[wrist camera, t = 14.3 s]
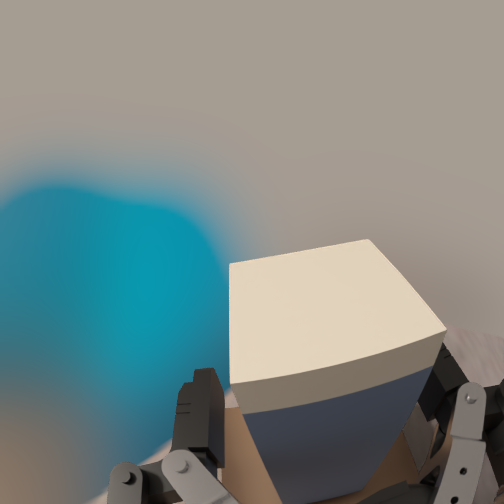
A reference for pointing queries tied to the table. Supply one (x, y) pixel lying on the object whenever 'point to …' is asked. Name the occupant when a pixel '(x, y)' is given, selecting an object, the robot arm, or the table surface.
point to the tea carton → (327, 363)
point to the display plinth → (261, 487)
